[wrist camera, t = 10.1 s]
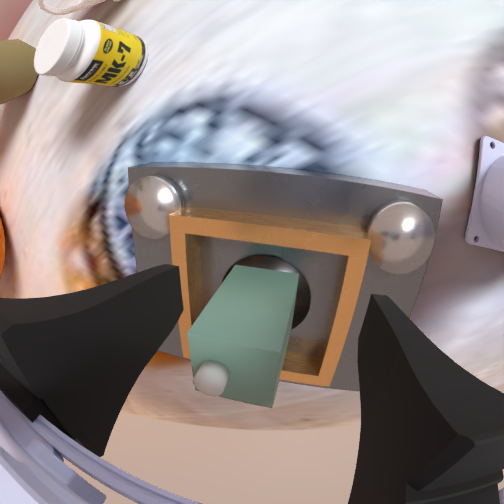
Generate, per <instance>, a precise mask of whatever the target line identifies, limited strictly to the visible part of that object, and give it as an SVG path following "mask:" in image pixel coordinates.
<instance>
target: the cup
mask: <svg viewBox="0 0 504 504" xmlns="http://www.w3.org/2000/svg"><path fill="white" fill-rule="evenodd" d="M104 1H106V0H90V1H87V2H84V3H81V4H78V5H75V6H71V7H68V8H54V7H51V6H49V5H47V4H46V3H44V0H39V2H38V3H39V6H40V9H42V10H44V11H45V12H47V13H50V14H54V15H65V14H69V13H73V12H76V11H79V10H82V9H85V8H88V7H91V6H94V5H96V4H99V3H101V2H104ZM113 1H115V2H117V1H120V0H113Z"/></svg>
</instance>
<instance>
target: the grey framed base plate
mask: <svg viewBox="0 0 504 504" xmlns="http://www.w3.org/2000/svg"><path fill="white" fill-rule="evenodd" d="M128 178H129V189H128V191H127V193H126V197H125V211H126V215H127V218H128V220H129V222H130V224H131V226H132V232H133V241H134V250H135V257H136V265H137V272H141V271H143V270H146V269H149V268H152V267H155V266H159V265H163V264H169V265H175V266H179V270H180V280H181V290H182V299H183V308H184V310H183V312H182V314H181V316H180V318H179V320H178V322H177V323H176V325H175V327H174V329H173V330H172V332H171V333H170V334H169V336H168V337H167V338H166V340H165V341H164V342H163V344H162V345H161V346H160V348H159V349H158V351H161V352H165V353H168V354H171V355H174V356H177V357H181V358H184V359H188V360H191V358H190V351H189V343H188V336H187V332H188V331H189V329H190V328H191V326H192V325H193V324H194V322H195V321H196V319H197V318H198V317H199V315H200V314H201V312H202V311H203V310H204V308H205V307H206V305H207V304H208V302H209V301H210V300H211V298H212V297H213V295H214V294H215V293H216V291H217V290H218V288H219V287H220V286H221V284H222V283H223V281H224V280H225V279H226V277H227V276H228V274H229V273H230V271H231V270H232V269H233V267H234V266H235V265H241V266H248V267H255V268H262V269H269V270H276V271H283V272H290V273H297V274H299V278H298V286H297V293H296V300H295V308H294V315H293V321H292V327H291V332H290V336H289V341H288V345H287V350H286V354H285V358H284V362H283V367H282V371H281V375H280V379H279V381H283V382H289V383H295V384H301V385H308V386H315V387H323V388H332V389H341V390H351V391H360V387H359V375H358V363H357V359H358V337H359V334H360V331H361V328H362V325H363V321H364V318H365V314H366V311H367V307H368V304H369V300H370V296H371V294H378V295H387V296H388V297H389V298H390V299H391V300H392V301H393V302H394V303H395V304H396V305H397V306H398V307H399V308H400V309H401V310H402V311H403V312H404V313H405V315H406V316H407V317H408V318H409V317H410V314H411V311H412V309H413V306H414V303H415V301H416V298H417V295H418V292H419V289H420V286H421V283H422V280H423V277H424V274H425V270H426V267H427V264H428V260H429V257H430V254H431V252H432V250H433V247H434V242H435V233H436V229H437V225H438V220H439V216H440V211H441V206H442V200H443V199H441V198H439V197H437V196H436V195H434V194H432V193H430V192H428V191H426V190H423V189H418V188H414V187H409V186H404V185H399V184H394V183H389V182H383V181H378V180H372V179H366V178H360V177H353V176H347V175H340V174H333V173H325V172H317V171H309V170H300V169H291V168H280V167H269V166H256V165H241V164H222V163H188V162H152V163H147V164H142V165H137V166H132V167H128Z"/></svg>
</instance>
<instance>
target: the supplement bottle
mask: <svg viewBox="0 0 504 504" xmlns="http://www.w3.org/2000/svg"><path fill="white" fill-rule="evenodd" d="M147 58H148V48H147V45H146V43H145V41H144V40H143V39H141V38H140V37H138V36H135V35H133V34H130V33H128V32H125V31H123V30H120V29H118V28H115V27H112V26H109V25H106V24H103V23H100V22H97V21H94V20H82V21H80V22H79V21H76V20H71V19H66V18H62V19H58V20H56V21H55V22H53V23H52V24H51V25H50V26H49V27H48V28H47V30H46V31H45V32H44V34H43V35H42V37H41V39H40V41H39V43H38V46H37V48H36V52H35V57H34V68H35V71H36V72H37V73H38V74H40V75H48V76H56V77H57V78H58V79H59V80H61V81H64V82H75V83H86V84H95V85H105V86H112V87H122V86H125V85H128V84H129V83H131V82H132V81H134V80H135V79H136V78H137V77H138V76H139V74H140V73H141V72H142V70H143V68H144V66H145V64H146V61H147Z"/></svg>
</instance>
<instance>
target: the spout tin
mask: <svg viewBox="0 0 504 504" xmlns="http://www.w3.org/2000/svg"><path fill="white" fill-rule="evenodd" d="M298 278H299V274H297V273H290V272H283V271H276V270H269V269H262V268H255V267H248V266H241V265H235V266H234V267H233V269H232V270H231V271H230V273H229V274H228V276H227V277H226V279H225V280H224V281H223V283H222V284H221V286H220V287H219V288H218V290H217V291H216V293H215V294H214V295H213V297H212V298H211V300H210V301H209V302H208V304H207V305H206V307H205V308H204V310H203V311H202V312H201V314H200V315H199V317H198V318H197V319H196V321H195V322H194V324H193V325H192V326H191V328H190V329H189V331H188V332H187V336H188V343H189V351H190V358H191V364H192V371H193V377H194V379H193V384H194V386H195V389H196V390H198V391H201V392H202V393H204V394H206V395H209V396H220V397H224V398H228V399H232V400H236V401H240V402H245V403H249V404H254V405H259V406H264V407H269V408H272V406H273V402H274V399H275V395H276V391H277V387H278V383H279V379H280V375H281V371H282V367H283V362H284V358H285V354H286V350H287V345H288V341H289V336H290V332H291V327H292V321H293V315H294V308H295V300H296V293H297V286H298Z"/></svg>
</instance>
